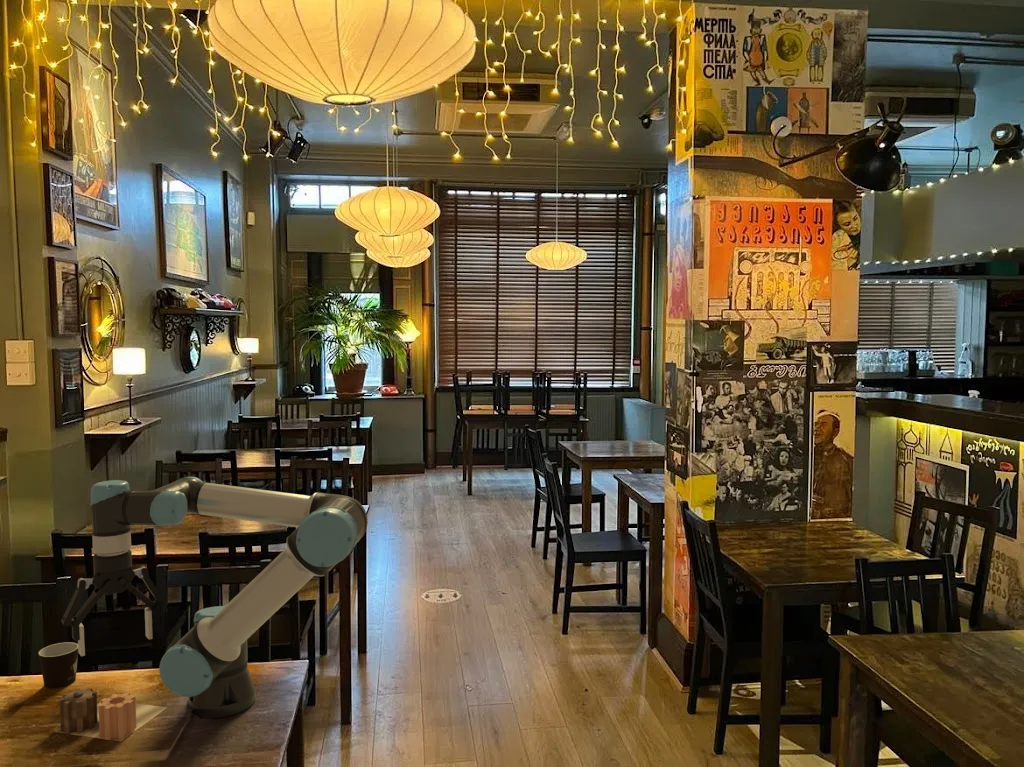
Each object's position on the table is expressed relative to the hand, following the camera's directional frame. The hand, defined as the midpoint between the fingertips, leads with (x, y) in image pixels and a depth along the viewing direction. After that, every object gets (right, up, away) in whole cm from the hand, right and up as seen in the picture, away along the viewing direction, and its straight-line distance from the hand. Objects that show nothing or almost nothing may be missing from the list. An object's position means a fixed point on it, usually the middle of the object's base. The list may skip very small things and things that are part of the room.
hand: (116, 645), depth 168 cm
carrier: (-3, -19, +3) cm, 20 cm away
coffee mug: (-25, -18, +23) cm, 38 cm away
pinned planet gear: (-8, -18, 0) cm, 20 cm away
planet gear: (+1, -18, -2) cm, 18 cm away
